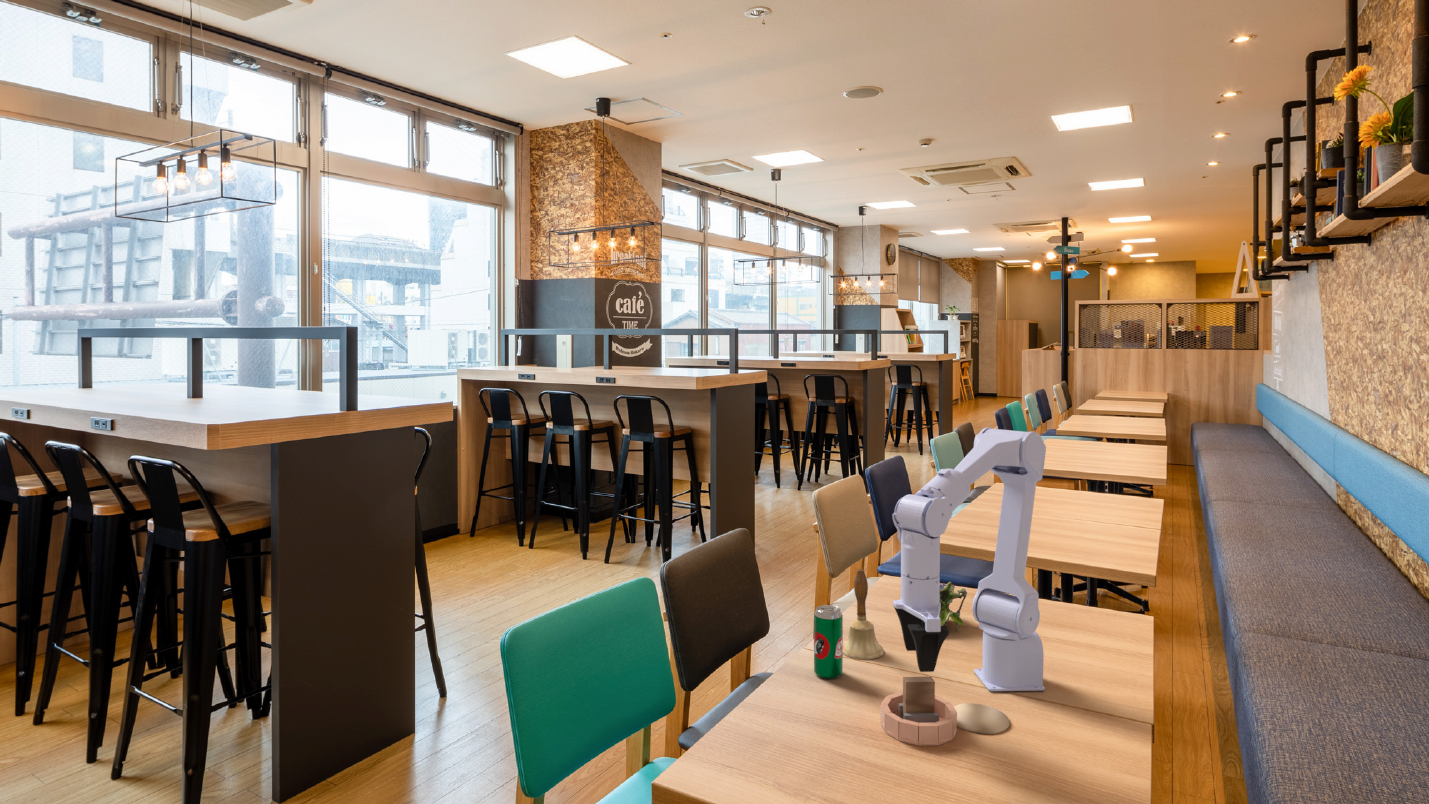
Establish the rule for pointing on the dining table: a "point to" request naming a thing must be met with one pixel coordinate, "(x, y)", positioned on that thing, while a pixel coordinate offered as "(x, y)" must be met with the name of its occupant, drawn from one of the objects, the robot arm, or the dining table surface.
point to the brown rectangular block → (918, 695)
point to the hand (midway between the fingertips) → (919, 660)
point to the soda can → (828, 642)
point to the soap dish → (919, 722)
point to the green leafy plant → (945, 599)
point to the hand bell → (861, 627)
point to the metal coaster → (981, 718)
